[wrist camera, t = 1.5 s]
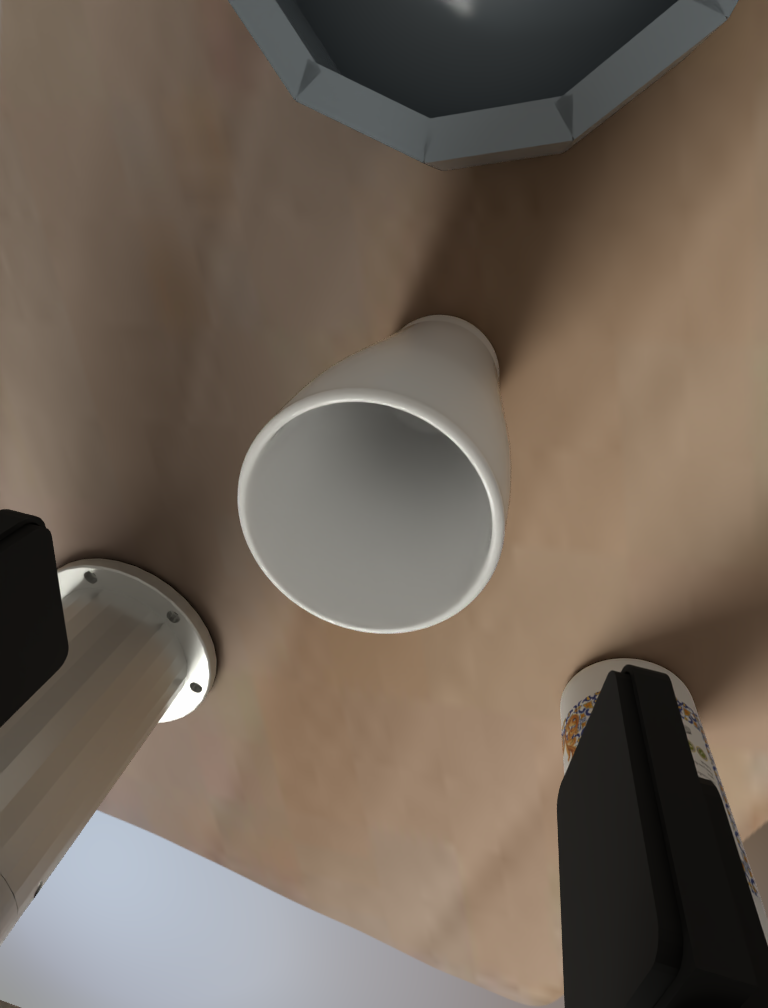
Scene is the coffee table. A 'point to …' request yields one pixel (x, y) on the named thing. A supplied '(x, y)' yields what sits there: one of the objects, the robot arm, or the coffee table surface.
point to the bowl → (475, 66)
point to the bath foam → (589, 684)
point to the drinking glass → (385, 482)
